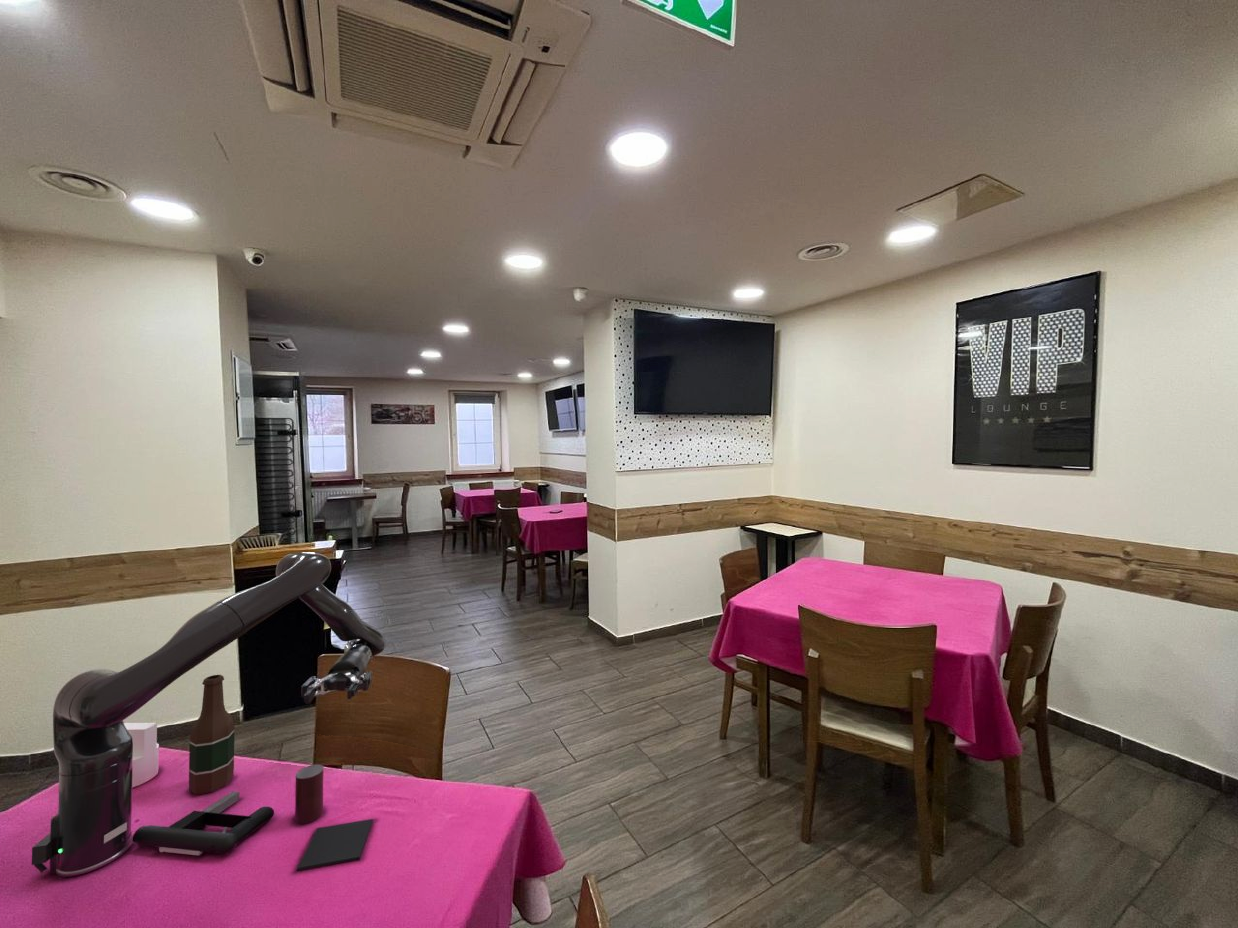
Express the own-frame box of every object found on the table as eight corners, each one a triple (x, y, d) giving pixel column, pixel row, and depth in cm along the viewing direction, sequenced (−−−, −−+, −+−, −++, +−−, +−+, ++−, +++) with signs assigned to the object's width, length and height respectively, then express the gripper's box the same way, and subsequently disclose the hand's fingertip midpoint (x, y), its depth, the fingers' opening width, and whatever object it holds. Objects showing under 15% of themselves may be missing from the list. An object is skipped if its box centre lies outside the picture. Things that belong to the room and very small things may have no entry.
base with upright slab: (169, 766, 116) (170, 716, 116) (131, 791, 107) (132, 736, 107) (130, 767, 116) (131, 716, 116) (90, 792, 107) (91, 736, 107)
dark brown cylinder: (291, 826, 96) (291, 780, 96) (300, 810, 101) (300, 766, 101) (318, 821, 97) (318, 776, 98) (326, 805, 102) (326, 762, 102)
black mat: (297, 870, 85) (297, 867, 85) (317, 830, 95) (317, 827, 95) (359, 859, 88) (359, 856, 88) (373, 821, 97) (372, 818, 97)
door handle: (208, 785, 105) (124, 835, 89) (292, 792, 103) (221, 845, 87) (207, 801, 105) (123, 854, 89) (291, 809, 102) (220, 865, 86)
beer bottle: (233, 769, 115) (234, 667, 115) (234, 785, 109) (235, 677, 109) (189, 782, 110) (191, 675, 110) (187, 800, 104) (189, 687, 104)
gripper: (318, 657, 124) (292, 684, 109) (378, 651, 128) (362, 676, 112) (318, 686, 124) (292, 717, 108) (378, 680, 128) (362, 709, 112)
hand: (328, 697), depth 110 cm, fingers open, 8 cm apart
